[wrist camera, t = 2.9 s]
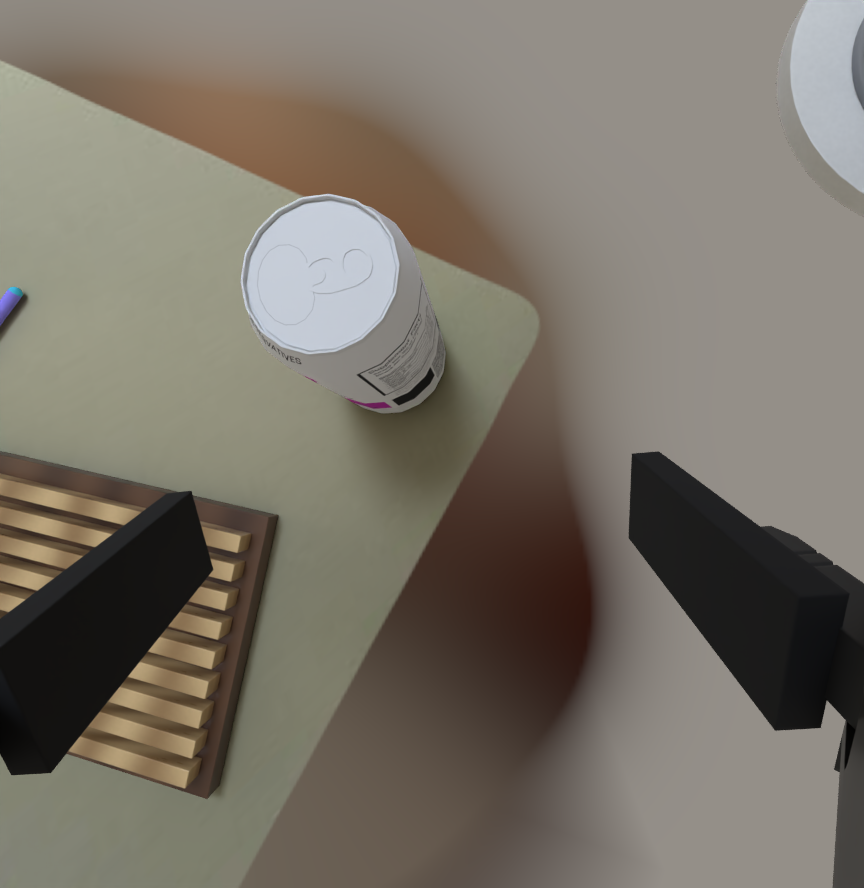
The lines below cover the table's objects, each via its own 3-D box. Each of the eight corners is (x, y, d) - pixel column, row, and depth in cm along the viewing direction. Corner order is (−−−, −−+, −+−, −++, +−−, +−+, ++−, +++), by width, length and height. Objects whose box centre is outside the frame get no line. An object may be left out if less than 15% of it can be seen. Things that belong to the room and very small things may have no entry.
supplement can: (351, 426, 35) (248, 390, 20) (328, 321, 36) (212, 210, 21) (457, 399, 34) (433, 340, 19) (431, 292, 35) (389, 155, 20)
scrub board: (278, 515, 35) (258, 518, 32) (219, 785, 34) (193, 814, 31) (-17, 447, 38) (-60, 444, 35) (-77, 691, 38) (-126, 709, 35)
